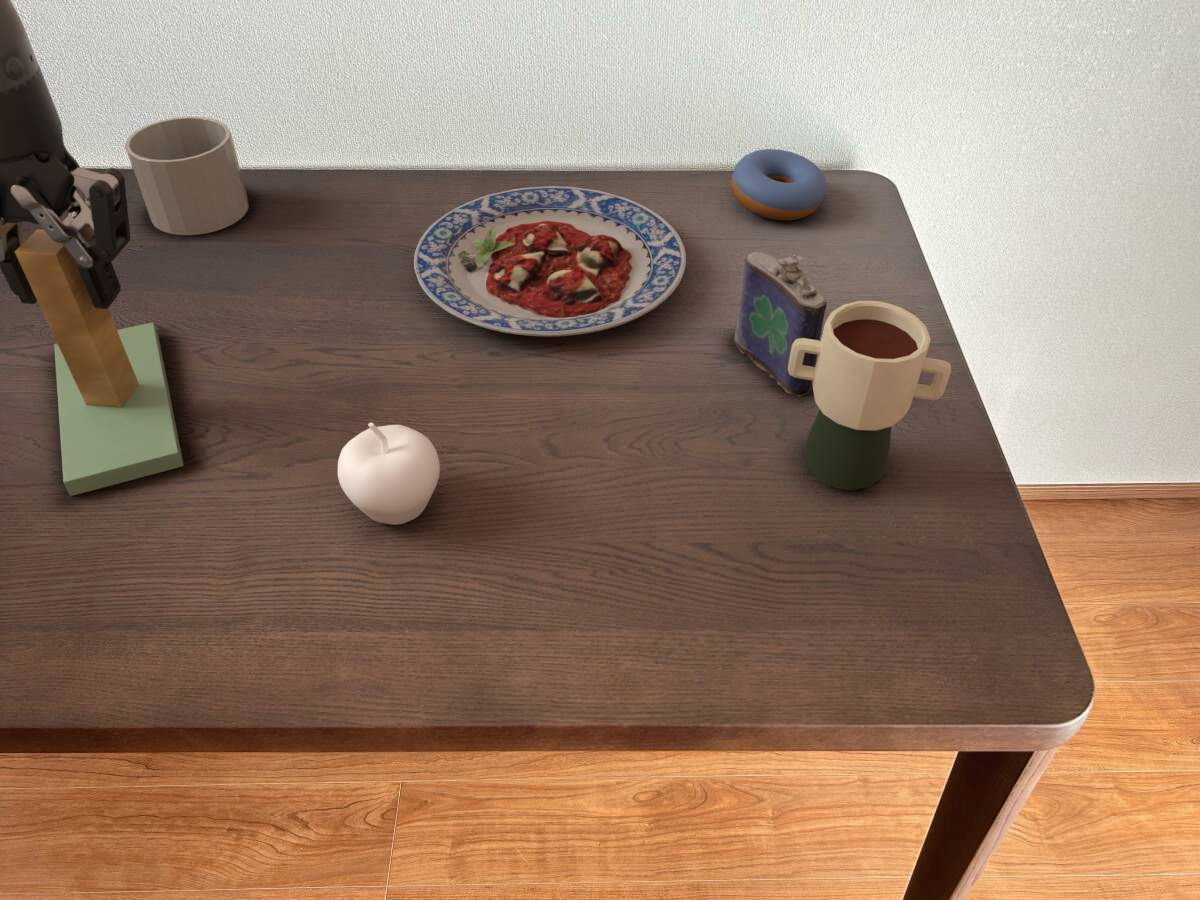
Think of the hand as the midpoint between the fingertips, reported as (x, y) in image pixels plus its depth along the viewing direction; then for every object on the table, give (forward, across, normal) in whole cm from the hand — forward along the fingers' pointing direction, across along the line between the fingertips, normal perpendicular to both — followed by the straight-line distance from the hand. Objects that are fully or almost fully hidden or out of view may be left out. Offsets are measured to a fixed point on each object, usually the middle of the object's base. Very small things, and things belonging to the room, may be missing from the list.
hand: (70, 299), depth 71 cm
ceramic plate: (+11, -32, -24) cm, 41 cm away
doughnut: (+11, -54, -40) cm, 68 cm away
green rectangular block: (+11, 0, 0) cm, 11 cm away
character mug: (+11, -58, 0) cm, 59 cm away
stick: (+9, 0, 0) cm, 9 cm away
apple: (+11, -25, +8) cm, 28 cm away
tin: (+11, +6, -31) cm, 33 cm away
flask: (+11, -53, -12) cm, 55 cm away
